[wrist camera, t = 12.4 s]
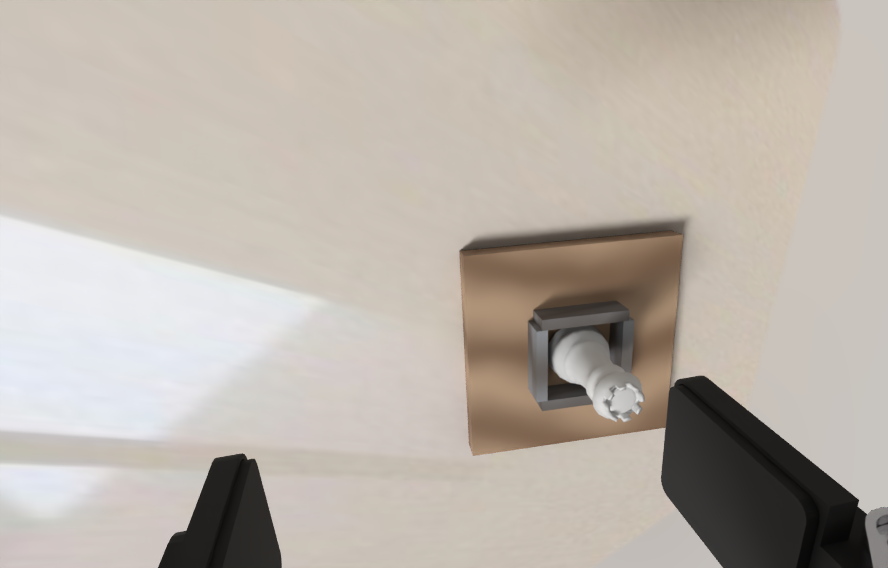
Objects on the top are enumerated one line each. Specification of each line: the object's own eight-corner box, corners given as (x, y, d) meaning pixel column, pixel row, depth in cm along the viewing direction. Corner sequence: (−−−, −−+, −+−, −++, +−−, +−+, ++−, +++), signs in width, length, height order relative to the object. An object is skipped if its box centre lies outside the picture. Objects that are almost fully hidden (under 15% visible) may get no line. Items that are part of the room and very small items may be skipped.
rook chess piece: (543, 378, 39) (588, 440, 31) (544, 323, 37) (591, 375, 30) (600, 371, 39) (657, 431, 32) (603, 316, 38) (663, 366, 30)
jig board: (459, 250, 36) (469, 264, 33) (671, 230, 38) (700, 241, 35) (469, 444, 41) (478, 472, 38) (655, 417, 43) (680, 441, 40)
